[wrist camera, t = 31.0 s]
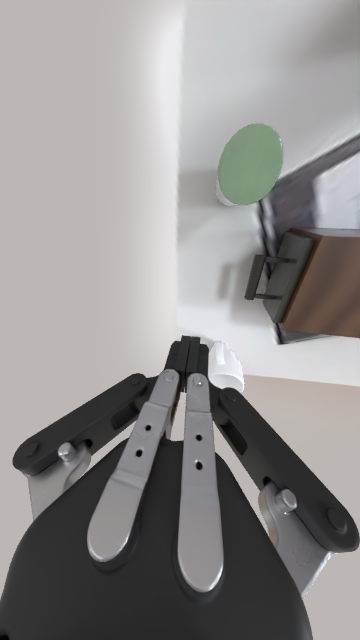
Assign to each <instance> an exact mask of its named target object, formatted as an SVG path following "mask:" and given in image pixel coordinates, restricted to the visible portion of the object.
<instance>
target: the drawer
mask: <svg viewBox="0 0 360 640" xmlns="http://www.w3.org/2000/svg"><path fill="white" fill-rule="evenodd" d="M315 241H316V240H315V239H312V238H309V237H306V236H303V235H300V234H297V233H293V232H285V235H284V238H283V241H282V244H281V247H280V250H279V253H278V256H277V258H273V257H266V256H265V255H255V257H254V261H253V265H252V269H251V273H250V277H249V280H248V284H247V288H246V292H245V296H244V298H245V299H247V300H253V299H254V298H260V299H263V304H264V306H265V308H266V310H267V312H268V314H269V316H270V317H271V319H272V321H273V323H281V321H282V319H283V316H284V314H285V312H286V311H287V309H288V306H289V304H290V302H291V299H292V297H293V295H294V292H295V290H296V288H297V285H298V283H299V281H300V278H301V276H302V274H303V271H304V269H305V267H306V264H307V262H308V260H309V257H310V255H311V253H312V250H313V248H314V246H315V243H316V242H315ZM265 262H275V265H274V268H273V271H272V275H271V278H270V281H269V284H268V287H267V290H266V293H265V294H256V290H257V287H258V284H259V280H260V277H261V273H262V270H263V266H264V263H265Z"/></svg>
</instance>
